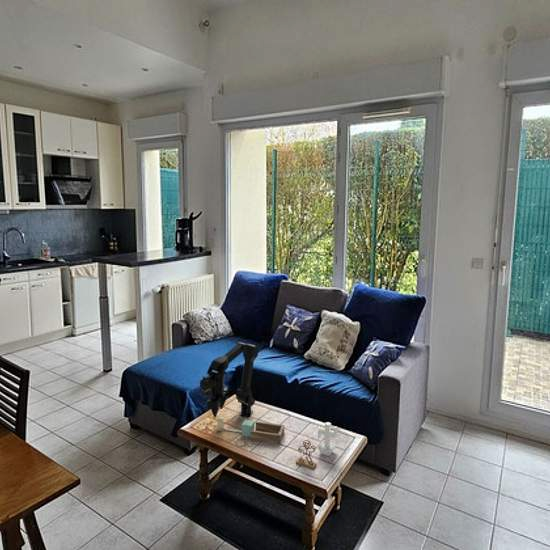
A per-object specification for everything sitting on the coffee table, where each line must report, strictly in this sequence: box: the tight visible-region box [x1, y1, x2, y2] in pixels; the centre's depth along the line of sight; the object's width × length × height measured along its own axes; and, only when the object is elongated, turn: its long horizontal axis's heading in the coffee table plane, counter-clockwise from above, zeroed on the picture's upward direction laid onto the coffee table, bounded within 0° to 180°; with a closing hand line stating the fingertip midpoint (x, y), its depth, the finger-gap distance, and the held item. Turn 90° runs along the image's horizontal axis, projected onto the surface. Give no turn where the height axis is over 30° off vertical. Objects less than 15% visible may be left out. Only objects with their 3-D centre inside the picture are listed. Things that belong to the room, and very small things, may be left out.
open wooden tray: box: [250, 420, 285, 445], centre depth 213 cm, size 10×15×4 cm
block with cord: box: [216, 416, 255, 438], centre depth 216 cm, size 5×19×6 cm, turn 76°
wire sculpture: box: [295, 439, 317, 471], centre depth 190 cm, size 9×4×12 cm, turn 63°
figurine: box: [316, 421, 338, 457], centre depth 199 cm, size 7×9×15 cm
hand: (218, 412), depth 217 cm, fingers open, 9 cm apart
